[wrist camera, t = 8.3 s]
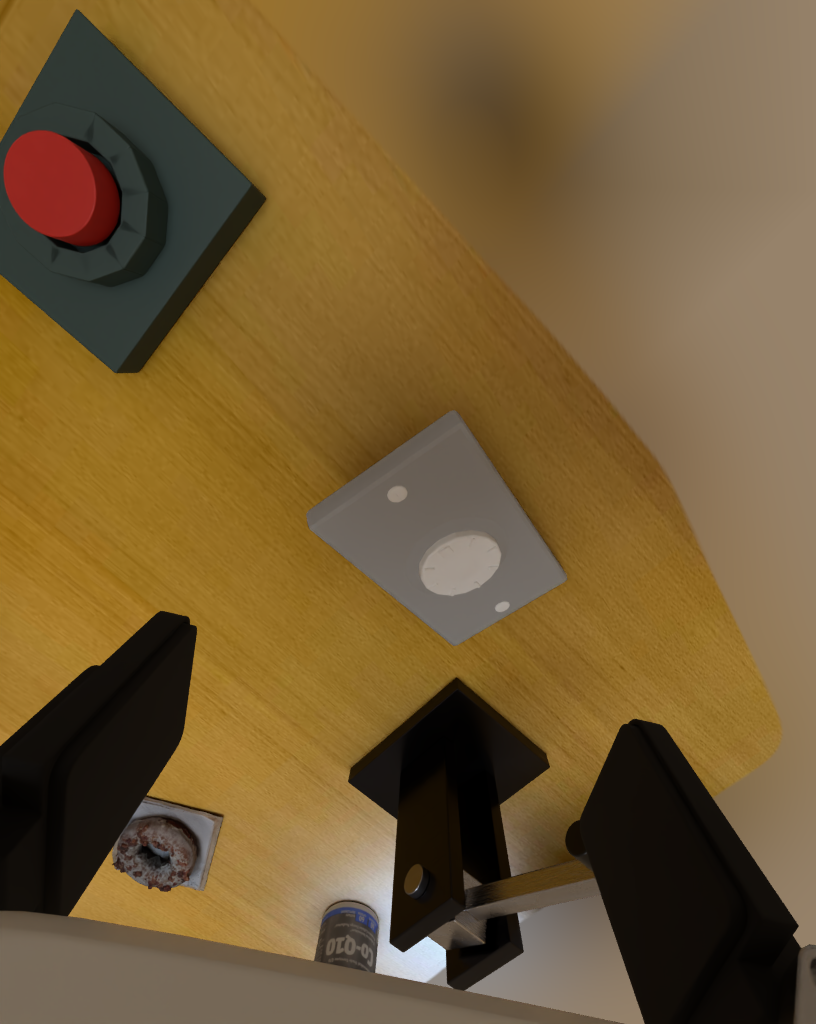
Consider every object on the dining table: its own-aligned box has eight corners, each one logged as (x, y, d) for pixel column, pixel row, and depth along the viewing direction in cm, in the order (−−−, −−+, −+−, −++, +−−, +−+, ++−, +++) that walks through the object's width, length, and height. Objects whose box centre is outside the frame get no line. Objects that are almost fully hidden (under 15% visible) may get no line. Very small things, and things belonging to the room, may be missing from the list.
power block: (107, 39, 24) (45, -24, 20) (266, 198, 25) (238, 169, 22) (-13, 241, 26) (-88, 220, 23) (138, 373, 28) (93, 374, 24)
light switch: (458, 660, 31) (307, 542, 21) (432, 590, 35) (297, 466, 26) (577, 591, 29) (470, 430, 20) (534, 526, 34) (429, 370, 24)
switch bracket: (456, 677, 33) (472, 837, 22) (546, 754, 35) (603, 941, 23) (350, 768, 36) (314, 954, 24) (438, 836, 37) (442, 1041, 26)
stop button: (63, 125, 22) (33, 105, 20) (137, 195, 22) (114, 181, 21) (18, 201, 23) (-15, 187, 21) (90, 266, 23) (64, 258, 22)
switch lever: (590, 803, 21) (595, 864, 19) (665, 867, 22) (677, 932, 20) (408, 864, 27) (396, 915, 25) (471, 911, 28) (466, 964, 26)
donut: (124, 788, 37) (107, 812, 35) (223, 816, 37) (212, 841, 36) (110, 865, 39) (93, 892, 37) (203, 890, 40) (192, 918, 38)
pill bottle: (385, 906, 40) (375, 1044, 32) (372, 945, 41) (358, 1087, 33) (328, 893, 39) (303, 1028, 31) (317, 933, 41) (290, 1072, 33)
